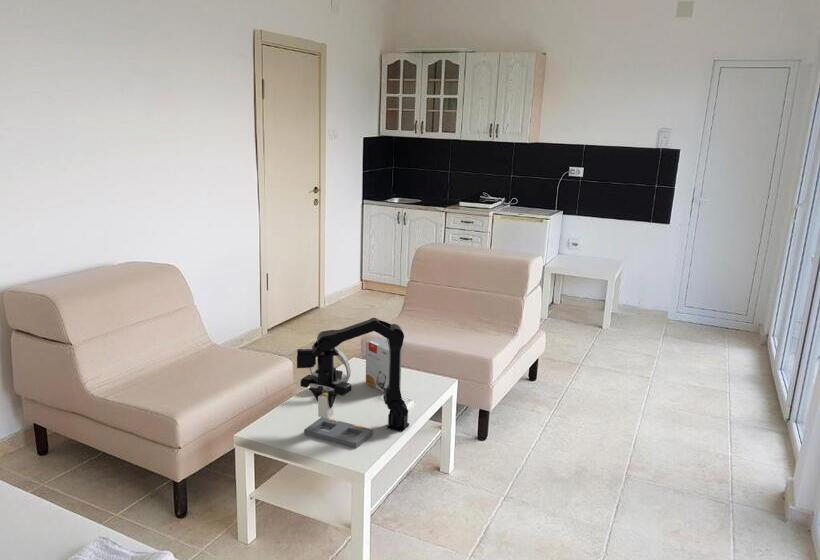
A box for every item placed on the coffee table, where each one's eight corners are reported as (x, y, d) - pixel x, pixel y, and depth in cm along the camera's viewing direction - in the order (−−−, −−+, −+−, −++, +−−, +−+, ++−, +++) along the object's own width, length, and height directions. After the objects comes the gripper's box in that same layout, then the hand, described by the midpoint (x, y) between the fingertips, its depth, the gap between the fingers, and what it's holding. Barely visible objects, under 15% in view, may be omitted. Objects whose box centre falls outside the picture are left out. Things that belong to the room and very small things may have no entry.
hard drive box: (364, 383, 283) (365, 340, 278) (378, 379, 288) (379, 336, 283) (387, 394, 272) (388, 349, 267) (401, 390, 277) (402, 346, 272)
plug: (333, 414, 237) (333, 392, 235) (327, 418, 234) (327, 396, 232) (324, 412, 239) (324, 390, 237) (318, 416, 235) (318, 394, 233)
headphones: (305, 391, 273) (304, 346, 268) (315, 384, 280) (315, 341, 275) (344, 399, 265) (344, 354, 261) (354, 392, 273) (354, 348, 268)
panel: (372, 434, 236) (372, 428, 236) (356, 448, 226) (356, 442, 225) (322, 421, 246) (322, 416, 245) (304, 434, 235) (304, 428, 234)
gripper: (359, 363, 235) (359, 403, 239) (316, 355, 243) (316, 393, 247) (343, 374, 225) (343, 415, 229) (299, 364, 233) (299, 404, 237)
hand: (325, 406), depth 236 cm, fingers closed on plug, 4 cm apart
